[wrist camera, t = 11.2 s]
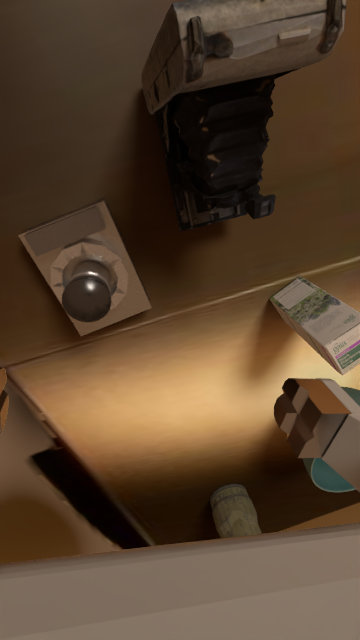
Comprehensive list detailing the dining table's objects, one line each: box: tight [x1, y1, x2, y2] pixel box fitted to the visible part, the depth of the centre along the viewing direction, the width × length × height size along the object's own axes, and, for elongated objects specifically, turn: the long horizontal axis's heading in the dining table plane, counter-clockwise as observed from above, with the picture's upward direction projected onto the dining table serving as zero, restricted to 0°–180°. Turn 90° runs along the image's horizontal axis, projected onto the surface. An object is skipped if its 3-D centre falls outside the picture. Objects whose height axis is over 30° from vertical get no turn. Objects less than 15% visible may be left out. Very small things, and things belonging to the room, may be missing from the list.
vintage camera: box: [142, 0, 346, 231], centre depth 27 cm, size 10×16×20 cm, turn 12°
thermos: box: [210, 484, 262, 539], centre depth 53 cm, size 9×12×35 cm
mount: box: [18, 198, 152, 336], centre depth 37 cm, size 14×10×5 cm
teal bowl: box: [302, 387, 360, 492], centre depth 54 cm, size 18×18×12 cm
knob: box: [62, 262, 111, 322], centre depth 34 cm, size 5×5×6 cm
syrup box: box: [270, 276, 360, 375], centre depth 40 cm, size 6×6×14 cm
